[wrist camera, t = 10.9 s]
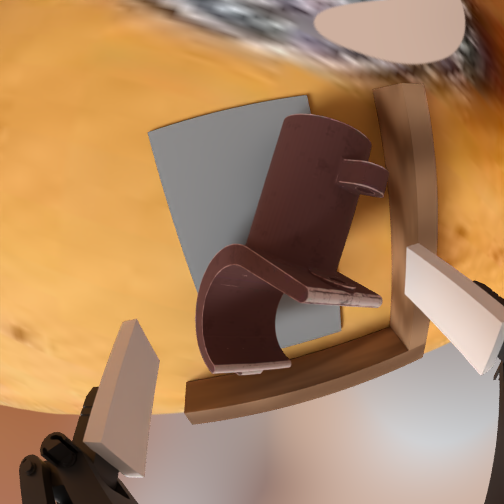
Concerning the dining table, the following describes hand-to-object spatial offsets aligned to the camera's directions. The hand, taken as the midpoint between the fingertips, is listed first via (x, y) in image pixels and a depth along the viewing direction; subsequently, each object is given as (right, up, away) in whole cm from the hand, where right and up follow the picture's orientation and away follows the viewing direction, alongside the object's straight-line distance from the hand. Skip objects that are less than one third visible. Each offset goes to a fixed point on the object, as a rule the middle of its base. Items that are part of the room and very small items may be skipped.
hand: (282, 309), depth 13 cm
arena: (+1, +2, +9) cm, 10 cm away
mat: (-1, +3, +9) cm, 9 cm away
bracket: (0, +3, +9) cm, 9 cm away
